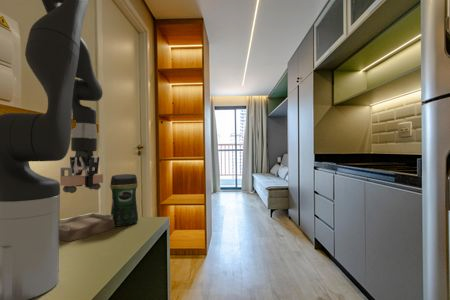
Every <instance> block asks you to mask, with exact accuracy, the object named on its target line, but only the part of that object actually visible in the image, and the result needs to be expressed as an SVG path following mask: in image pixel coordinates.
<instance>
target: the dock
mask: <svg viewBox="0 0 450 300" xmlns="http://www.w3.org/2000/svg"><path fill="white" fill-rule="evenodd" d="M113 229H115V226H114V219H113V216H111V214H105V213H101V212H96V211H95V212H90V213H86V214H81V215H76V216H71V217H68V218H67V217H66V218H63V219H60V220H59V241H63V242H66V243H69V242H73V241H75V240H79V239H83V238H86V237H90V236H93V235H95V234H99V233H103V232H105V231H109V230H113Z"/></svg>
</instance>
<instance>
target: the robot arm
mask: <svg viewBox="0 0 450 300" xmlns="http://www.w3.org/2000/svg"><path fill="white" fill-rule="evenodd" d="M41 2H42V5H43V7H44V9H45V12H46V14H44V15H43V16H41V17H40V18H39V19H37V20H36V21H35V22H34V23H33V24H32V26H31V27H30V29H29V32H28V38H27V42H26V44H25V45H26V46H25V52H24V55H25V60H26V62H27V64H28V67H29V68H30V69H31V72H32V73H33V74H34V75H35V78H36V79H37V80H38V82H39V83H40V84H41V87H42V88H43V89H44V92H45V94H46V96H47V109H46V112H45V113H27V112H26V113H24V112H22V113H21V112H19V113H18V112H6V113H2V114H0V300H31V299H33V298H36V297H39V296H41V295H43V294H45V293H46V292H49V291H50V290H52V289H53V288H54V287H56V286H57V285H58V284H59V280H60V278H59V277H60V239H59V220H61V219H60V216H61V215H60V210H61V209H60V208H61V207H60V205H61V202H60V201H61V185H60V181H59V180H56V179H54V178H51V177H46V176H44V175H41V174H39V173H37V172H35V171H34V170H32V169H31V167H30V162H57V161H62V160H63V159H64V158H65V157H66V156H67V154H68V152H69V149H71V152H75V154H74V156H70V157H69V162H70V163H69V165H70V168H72V175H85V185H84V187H85V188H88V187H92V186H93V176H94V174H99V172H98V171H99V166H100V156H95V155H94V152H96V151H98V131H97V110H96V109H95V108H93V107H89V106H86V105H83V104H81V101H84V102H85V101H89V102H98V101H100V100H101V99H102V97H103V88H102V85H101V83H100V81H99V79H98V78H97V76H96V73H95V71H94V69H93V65H92V59H91V53H90V50H89V47H88V46H87V43H86V42H85V41H84V40H83V38H82V30H83V29H82V28H83V25H84V21H85V20H84V19H85V16H86V12H87V8H88V4H89V0H41ZM72 120H76V127H75V128H73V129H72ZM77 187H83V185H77V186H76V188H77ZM88 189H89V188H88Z"/></svg>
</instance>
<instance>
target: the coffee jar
mask: <svg viewBox="0 0 450 300" xmlns="http://www.w3.org/2000/svg"><path fill="white" fill-rule="evenodd" d="M138 186H139V185H138V178H137V175H136V174H132V173H123V174H114V175H112V176H111V179H110V184H109V187H110V190H111V208H110V209H111V210H110V215H111V216H113V219H114V227H122V226H128V224H129V225H133V224H136V223H137V222H139V213H138V205H137V204H138V203H137V188H138Z"/></svg>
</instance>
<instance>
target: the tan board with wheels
mask: <svg viewBox="0 0 450 300" xmlns="http://www.w3.org/2000/svg"><path fill="white" fill-rule="evenodd" d="M66 171H67V175H65V172H66ZM59 178H60V179H59V180H60V181H59V183H60V187H63V188H62V191H63V192H64V193H70V194H74V193H76V191H77V190H78V189H77V185H82V186H85V174H83V175H74V174H72V168H71V167H60V177H59ZM103 182H104V174H102V173H101V174H100V173H97V174H94V176H93V186H92V187H88V189H89V190H95V191H98V190H100V189H101V184H102V183H103Z"/></svg>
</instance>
